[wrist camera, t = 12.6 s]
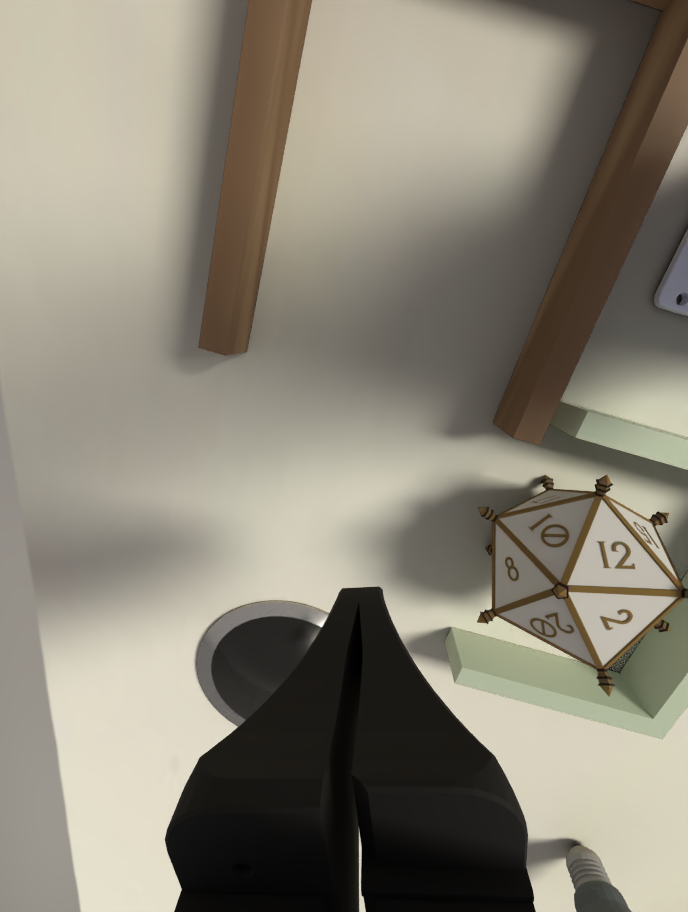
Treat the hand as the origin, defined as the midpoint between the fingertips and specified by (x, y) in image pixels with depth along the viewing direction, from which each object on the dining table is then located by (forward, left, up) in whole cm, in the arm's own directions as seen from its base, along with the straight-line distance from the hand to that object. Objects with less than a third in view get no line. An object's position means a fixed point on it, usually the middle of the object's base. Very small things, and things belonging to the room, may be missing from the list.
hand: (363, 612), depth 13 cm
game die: (-9, -1, -9) cm, 13 cm away
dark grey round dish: (+2, +14, -9) cm, 17 cm away
